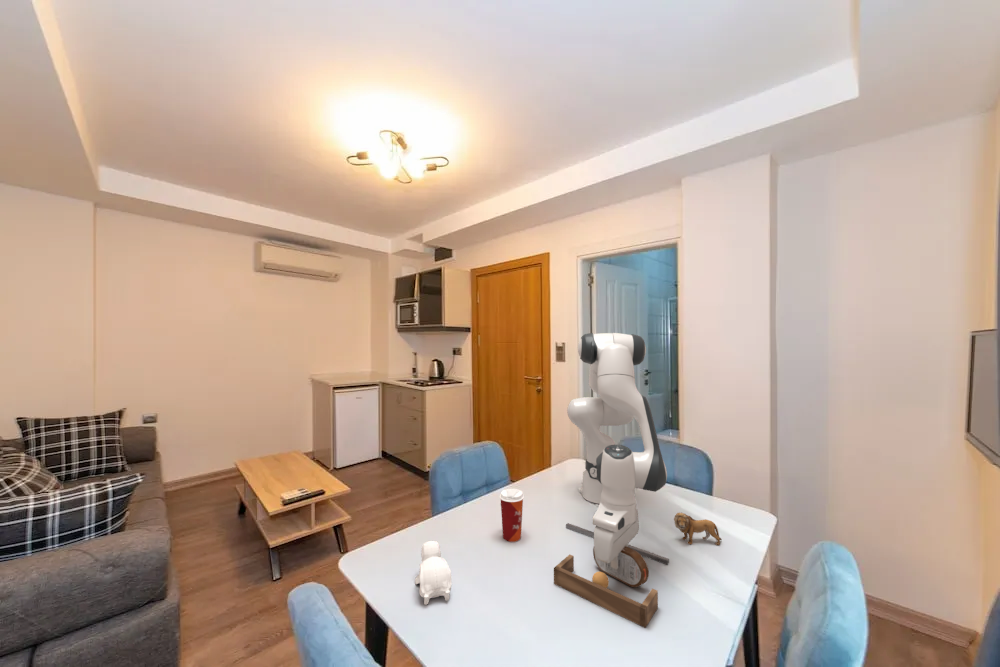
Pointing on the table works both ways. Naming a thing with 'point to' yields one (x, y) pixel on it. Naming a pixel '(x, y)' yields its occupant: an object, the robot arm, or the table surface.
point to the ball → (600, 579)
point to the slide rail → (640, 551)
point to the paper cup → (511, 514)
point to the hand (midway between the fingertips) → (618, 563)
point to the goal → (605, 594)
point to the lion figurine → (695, 527)
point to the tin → (627, 567)
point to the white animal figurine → (433, 573)
